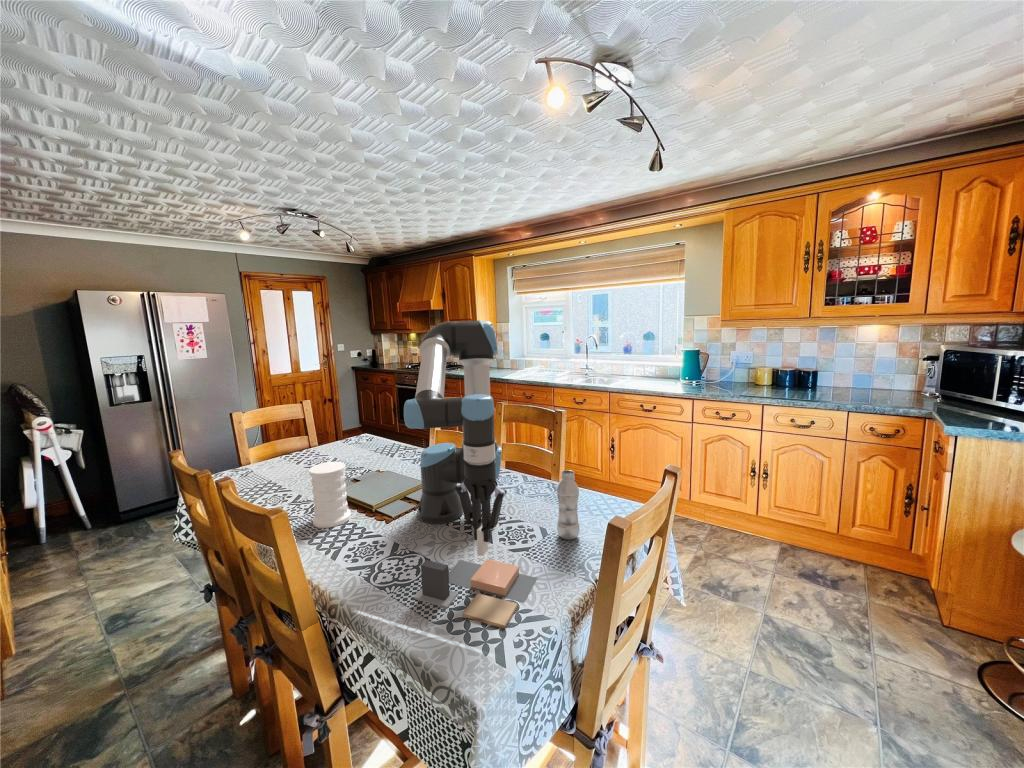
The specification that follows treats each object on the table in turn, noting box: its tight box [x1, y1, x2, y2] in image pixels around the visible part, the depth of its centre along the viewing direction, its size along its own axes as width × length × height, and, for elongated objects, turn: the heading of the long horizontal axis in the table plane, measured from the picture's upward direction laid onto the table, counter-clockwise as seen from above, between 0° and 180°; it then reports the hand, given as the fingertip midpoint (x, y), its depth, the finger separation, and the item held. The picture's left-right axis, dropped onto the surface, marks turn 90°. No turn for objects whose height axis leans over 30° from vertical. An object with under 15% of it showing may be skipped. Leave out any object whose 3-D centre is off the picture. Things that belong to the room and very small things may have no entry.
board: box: [462, 592, 518, 630], centre depth 88 cm, size 10×7×1 cm
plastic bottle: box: [556, 469, 580, 541], centre depth 118 cm, size 6×7×20 cm
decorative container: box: [308, 461, 352, 529], centre depth 132 cm, size 12×12×18 cm
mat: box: [449, 559, 539, 603], centre depth 99 cm, size 22×10×1 cm, turn 68°
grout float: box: [413, 559, 459, 609], centre depth 93 cm, size 9×5×8 cm, turn 68°
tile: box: [470, 558, 520, 596], centre depth 98 cm, size 2×9×9 cm
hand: (482, 552), depth 99 cm, fingers closed
